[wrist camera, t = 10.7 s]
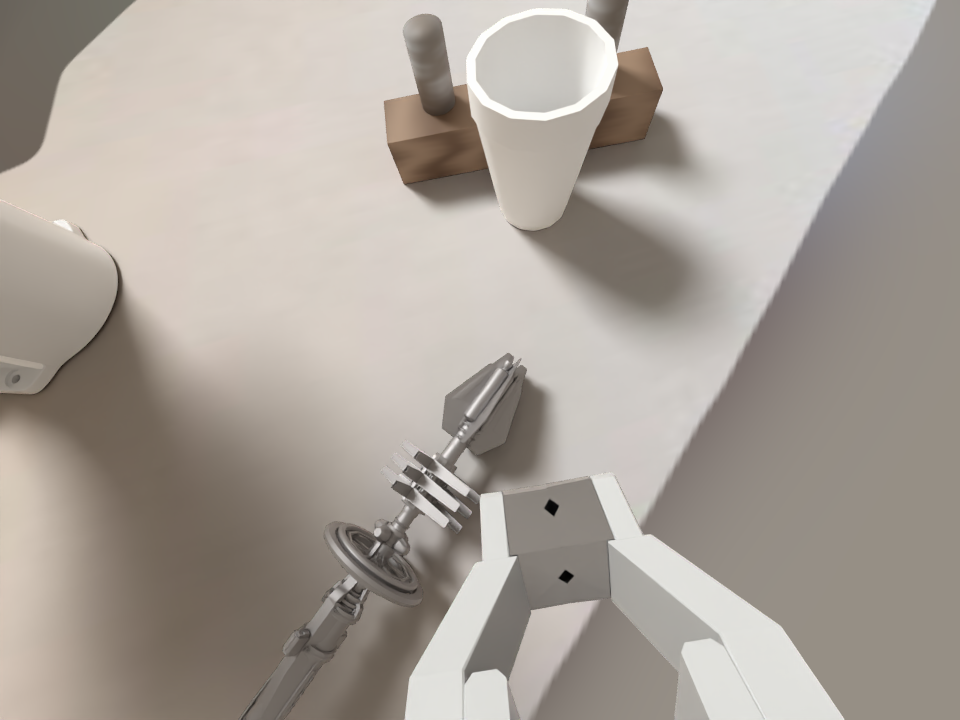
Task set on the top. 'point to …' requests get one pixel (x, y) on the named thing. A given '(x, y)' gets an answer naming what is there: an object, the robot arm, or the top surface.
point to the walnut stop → (446, 109)
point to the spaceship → (395, 532)
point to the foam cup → (539, 106)
